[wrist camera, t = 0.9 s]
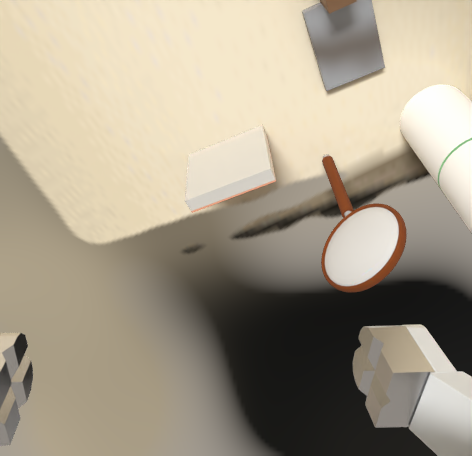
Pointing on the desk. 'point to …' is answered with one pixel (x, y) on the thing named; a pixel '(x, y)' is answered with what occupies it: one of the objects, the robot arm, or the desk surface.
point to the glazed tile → (229, 169)
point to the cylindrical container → (443, 141)
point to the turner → (344, 40)
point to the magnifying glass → (360, 240)
